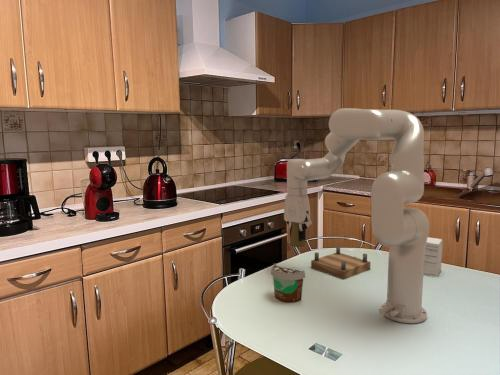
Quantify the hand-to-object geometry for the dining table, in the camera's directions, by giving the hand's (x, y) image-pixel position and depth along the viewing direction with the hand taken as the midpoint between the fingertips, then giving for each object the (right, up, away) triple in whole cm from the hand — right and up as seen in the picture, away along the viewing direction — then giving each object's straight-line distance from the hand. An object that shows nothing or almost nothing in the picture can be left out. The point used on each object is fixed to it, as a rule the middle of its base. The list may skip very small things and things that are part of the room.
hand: (297, 238), depth 150 cm
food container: (-7, -17, -24) cm, 30 cm away
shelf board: (+17, -12, +3) cm, 21 cm away
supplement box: (+49, -13, -2) cm, 51 cm away
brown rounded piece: (0, -3, 0) cm, 3 cm away
